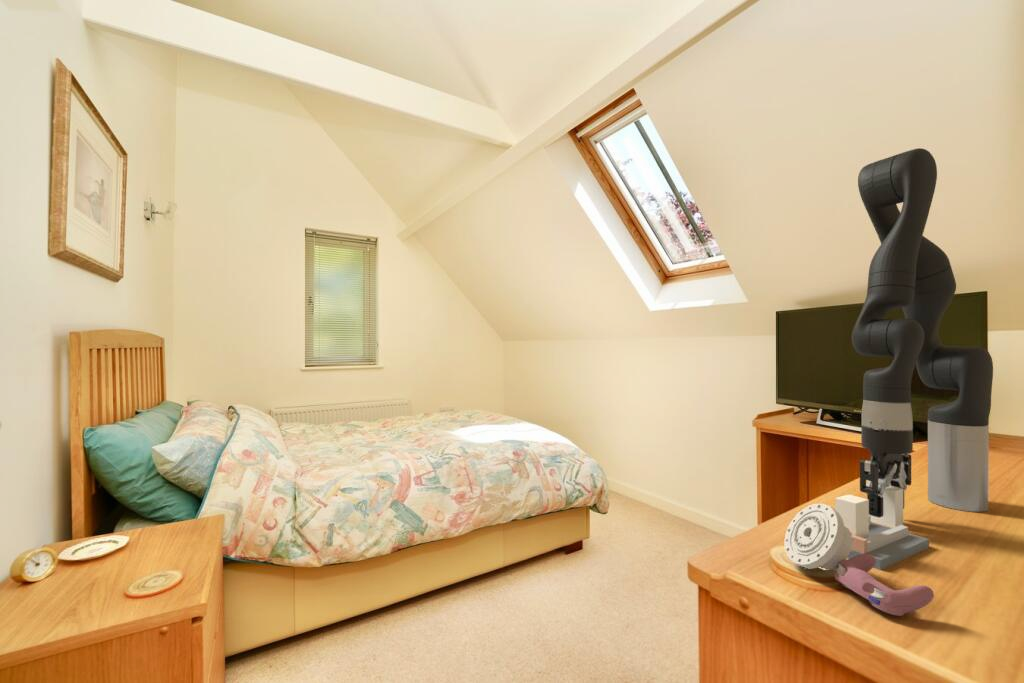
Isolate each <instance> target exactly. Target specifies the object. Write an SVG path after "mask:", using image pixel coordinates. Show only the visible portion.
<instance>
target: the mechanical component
mask: <svg viewBox="0 0 1024 683" xmlns="http://www.w3.org/2000/svg"><path fill="white" fill-rule="evenodd" d="M853 540H854V538H853V537H852V533H851V532H850V531H849V529H848V528H846V527H845V526H844V523H843V519H842V517H841V516H840V514H839V513H838V512H837V511H836V510H835V508H833V507H831V506H830V505H827V504H826V503H814V504H813V503H812V504H810V505H807V506H806V507H803V509H800V511H799V512H798V513H796V514H795V516H794V517H793V518H792V520H791V521H790V522H789V525H788V526H787V528H786V532H785V536H784V540H783V544H784V545H783V546H784V551H785V554H786V557H787V558H788V559H789V561H791V562H793V564H795V563H796V565H797V566H799V567H800V566H802V567H805V568H804V569H806V568H808V569H807V570H811V569H816V568H817V567H821V568H825V569H830V570H829V571H832V570H833V571H835V569H836V567H837V566H838V564H839V563H840V562H841V561H844V560H848V558H847V557H848V555H849V554H850V553H852V552H853V550H852V549H851V548H852V541H853ZM802 567H801V568H802ZM817 569H818V568H817Z"/></svg>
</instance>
